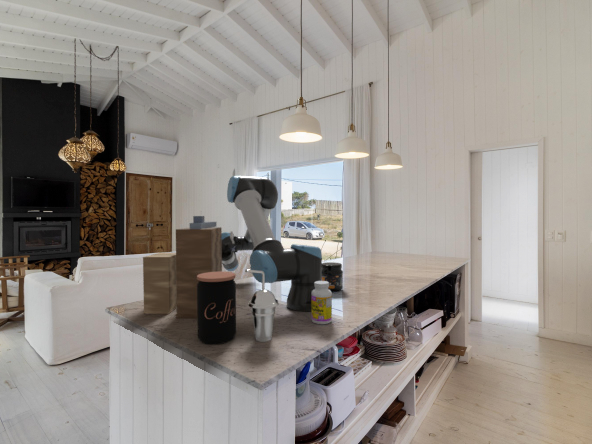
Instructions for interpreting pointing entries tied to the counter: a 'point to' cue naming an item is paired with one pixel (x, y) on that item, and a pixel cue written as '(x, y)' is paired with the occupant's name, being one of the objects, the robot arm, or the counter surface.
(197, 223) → the lid
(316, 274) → the robot arm
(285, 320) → the counter surface
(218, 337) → the coffee jar
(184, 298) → the walnut box
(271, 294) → the cup with straw
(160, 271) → the oak block
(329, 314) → the supplement bottle
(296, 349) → the counter surface
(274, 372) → the counter surface
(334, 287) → the supplement container
